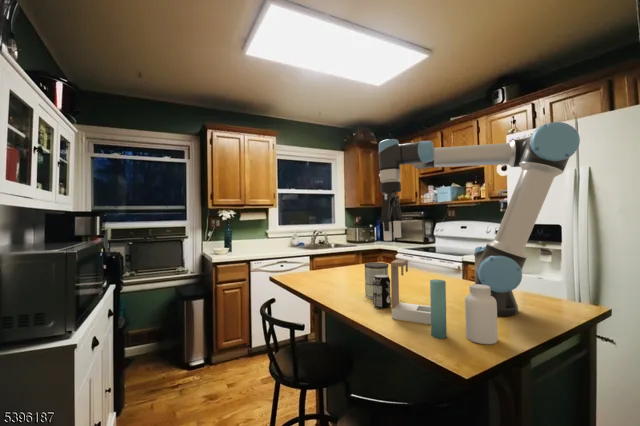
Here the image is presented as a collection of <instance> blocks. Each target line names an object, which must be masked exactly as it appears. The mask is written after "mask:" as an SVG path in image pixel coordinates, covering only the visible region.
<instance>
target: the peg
mask: <svg viewBox="0 0 640 426" xmlns="http://www.w3.org/2000/svg"><path fill="white" fill-rule="evenodd" d="M429 282H430V283H429V284H430V285H429V286H430V287H429V288H430V289H429V291H430V292H429V293H430V295H429V296H430V306H431V324H430V334H431V335H430V336H431V337H432V338H435V339H438V340H440V339H442V340H443V339H446V338H448V337H447V336H448V335H447V334H448V333H447V331H448V330H447V329H448V328H447V289H446V286H447V285H446V284H447V283H446V282H447V281H446V280H443V279H437V278H436V279H434V278H433V279H430V280H429Z"/></svg>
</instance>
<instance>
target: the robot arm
mask: <svg viewBox="0 0 640 426" xmlns="http://www.w3.org/2000/svg"><path fill="white" fill-rule="evenodd" d="M580 137H581V136H580V134H579V132H578V131H577V130H576V127H574V126H573V125H571V124H569V123H567V122H562V121H554V122H548V123H546V124H543V125H541V126H539V127H537V128H536V129H535V130H534V131H533V132H532V134H531V135H530V136H528V137H525V138H519V139H512V140H511V141H510V142H505V143H504V142H503V143H489V144H487V143H486V144H474V145H473V144H472V145H460V146H445V147H442V146H441V147H434V143H433V141H432V140H420V141H415V142H408V143H399V140H398V139H395V138H391V139H390V138H389V139H384V140H381V141H380V142H379V143H378V165H379V166H378V167H379V174H378V177H379V181H380V187H379V188H380V190H379V191H380V193H381V194H382V203H381V214H380V221H379V222H380V223H382V227H383V228H382V229H383V230H382V231H383V241H388V242H391V241H392V240H393V238H398V239H399V238H402V224H401V223H402V221H403V219H404V218H403V217H402V216H403V215H402V210H401V206H400V205H401V204H400V196H399V195H397V193H401V192H402V183H401V182H400V181H401V179H402V178H401V166H405V165H412V166H413V167H414V168H416V169H418V170H425V169H428V168H429V169H431V168H447V167H449V168H450V167H471V166H473V167H474V166H476V167H477V166H499V165H502V166H504V165H509V167H511V168H520V169H521V172H520V174H519V177H518V179H517V183H516V185H515V187H514V190H513V192H512V195H511V198H510V199H509V203H508V205H507V207H506V210H505V212H504V215H503V217H502V220H501V222H500V225H499V227H498V229H497V232H496V235H495V236H494V239H493V240H491V241H489V242H487V243H486V245H485V246H477V247H475V248H474V253H473V256H474V284H481V285H487V286H490V288H491V292H490V293H491V295H490V296H492V297H494V298H495V299H496V302H497V317H499V316H500V317H511V316H516V315H518V313H519V306H518V303H517V300H516V298H515V295H514V293H513V290H515V289H517V288H518V287H519V286H520V284H521V282H522V279H523V267H524V265H525V263H526V262H527V261H526V260H527V258H528V256H527V254H526V253H525V248H526V246H527V243H528V241H529V239H530V236H531V233H532V232H533V229H534V226H535V224H536V221H537V219H538V218H539V214H540V213H541V209H542V207H543V205H544V203H545V200H546V198H547V196H548V193H549V192H550V189H551V186H552V184H553V182H554V179H555V178H556V177H558V176H560V175H562V174H563V173H564V171H565V169H566V166H567V164H568V162H569V160H570V158H571V157H572V156H573V155H574V154H575V153H576V152H577V150H578V149H579V146H580V143H581V142H580V141H581V138H580ZM391 217H392V218H393V221H391ZM392 223H393V230H392ZM392 231H393V232H392Z"/></svg>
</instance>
